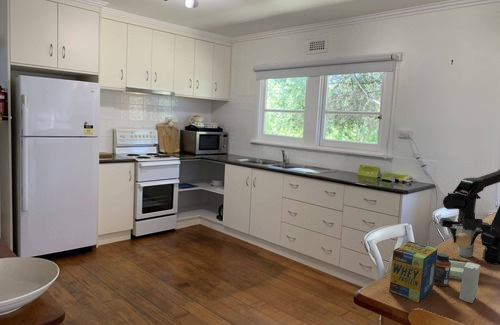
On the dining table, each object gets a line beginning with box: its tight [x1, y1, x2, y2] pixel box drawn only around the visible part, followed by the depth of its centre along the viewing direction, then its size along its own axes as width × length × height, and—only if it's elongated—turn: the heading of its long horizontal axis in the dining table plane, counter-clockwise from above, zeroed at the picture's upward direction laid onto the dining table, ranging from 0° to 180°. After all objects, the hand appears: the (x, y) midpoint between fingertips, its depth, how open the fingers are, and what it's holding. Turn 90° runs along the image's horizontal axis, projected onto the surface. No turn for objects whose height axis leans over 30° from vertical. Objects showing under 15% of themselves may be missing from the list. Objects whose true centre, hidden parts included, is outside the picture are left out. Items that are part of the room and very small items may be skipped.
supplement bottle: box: [433, 252, 451, 287], centre depth 143 cm, size 6×6×11 cm
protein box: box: [388, 240, 438, 303], centre depth 136 cm, size 10×15×16 cm
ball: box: [455, 233, 471, 247], centre depth 163 cm, size 6×6×6 cm
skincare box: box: [458, 262, 481, 304], centre depth 131 cm, size 6×4×12 cm
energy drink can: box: [457, 226, 475, 258], centre depth 174 cm, size 6×6×15 cm
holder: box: [449, 257, 473, 263], centre depth 164 cm, size 10×10×1 cm
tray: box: [449, 260, 480, 283], centre depth 153 cm, size 12×12×3 cm
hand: (462, 244), depth 163 cm, fingers closed on ball, 6 cm apart
